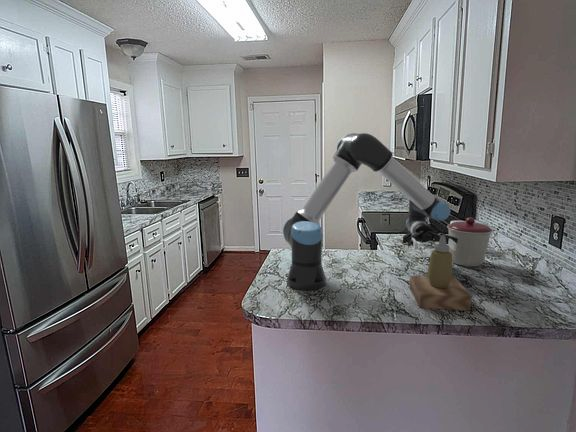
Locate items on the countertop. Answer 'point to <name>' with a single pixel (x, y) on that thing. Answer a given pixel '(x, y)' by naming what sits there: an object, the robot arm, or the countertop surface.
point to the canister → (469, 242)
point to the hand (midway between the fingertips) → (435, 246)
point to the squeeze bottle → (440, 265)
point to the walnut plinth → (440, 294)
